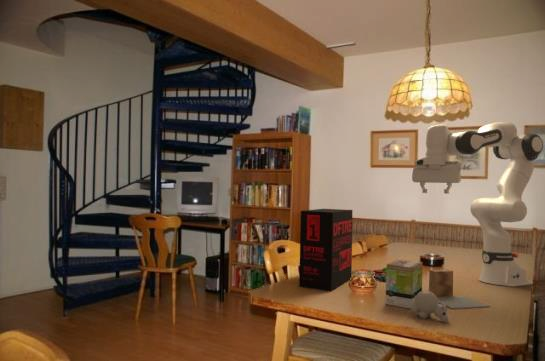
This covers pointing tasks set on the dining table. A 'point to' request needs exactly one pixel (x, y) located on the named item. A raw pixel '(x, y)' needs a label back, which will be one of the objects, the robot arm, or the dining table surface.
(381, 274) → the gear puzzle
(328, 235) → the product box
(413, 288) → the tea box
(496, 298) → the dining table surface
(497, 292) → the dining table surface
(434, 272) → the walnut block
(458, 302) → the mat
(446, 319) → the round bodied animal figurine
